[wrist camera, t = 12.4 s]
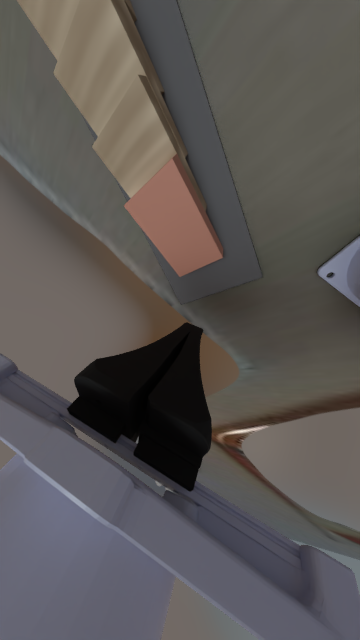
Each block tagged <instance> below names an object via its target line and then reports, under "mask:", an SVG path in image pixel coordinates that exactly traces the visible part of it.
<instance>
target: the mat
mask: <svg viewBox="0 0 360 640" xmlns="http://www.w3.org/2000/svg"><path fill="white" fill-rule="evenodd" d="M130 2H131V4H132V7H133V10H134V12H135V15H136V18H137V20H136V21H135V23H134V24H135V26H136V28H137V31H138V33H139V35H140V37H141V40H142V42H143V44H144V46H145V49H146V51H147V53H148V55H149V58H150V60H151V62H152V64H153V67H154V69H155V71H156V73H157V76H158V78H159V80H160V82H161V85H162V87H163V89H164V91H165V92H164V93H163V94H162V97H163V99H164V102H165V104H166V106H167V108H168V110H169V113H170V115H171V117H172V119H173V121H174V124H175V126H176V128H177V130H178V132H179V135H180V137H181V139H182V141H183V143H184V145H185V148H186V150H187V152H188V154H187V156H186V157H185V159H186V162H187V164H188V166H189V168H190V170H191V172H192V174H193V176H194V178H195V181H196V183H197V185H198V187H199V189H200V191H201V193H202V195H203V198H204V200H205V202H206V204H207V207H206V214H207V216H208V218H209V220H210V222H211V224H212V226H213V228H214V230H215V233H216V235H217V237H218V239H219V241H220V243H221V245H222V247H223V258H221V259H219V260H217V261H214V262H212V263H210V264H208V265H205V266H203V267H201V268H199V269H197V270H194V271H192V272H190V273H188V274H186V275H183V276H181V277H179V275H178V274H177V273H176V272H175V270H174V269H173V268H172V267H171V265H170V264H169V263H168V261H167V260H166V259H165V258H164V256H163V255H162V254H161V253H160V251H159V250H158V249H157V247H156V246H155V245H154V244H153V242H152V241H151V240H150V238H149V237H148V236H147V235H146V233H145V232H144V231H143V230H142V231H143V233H144V235H145V237H146V239H147V241H148V243H149V244H150V246H151V248H152V250H153V252H154V254H155V256H156V258H157V260H158V262H159V264H160V266H161V267H162V269H163V271H164V273H165V275H166V277H167V279H168V281H169V283H170V285H171V287H172V289H173V290H174V292H175V294H176V296H177V298H178V300H179V302H180V304H181V305H182V304H185V303H188V302H191V301H194V300H197V299H200V298H203V297H206V296H209V295H212V294H215V293H217V292H220V291H223V290H226V289H229V288H232V287H235V286H238V285H241V284H244V283H247V282H250V281H253V280H256V279H259V278H262V277H263V276H262V272H261V269H260V266H259V263H258V260H257V256H256V253H255V250H254V247H253V244H252V240H251V237H250V234H249V231H248V228H247V224H246V221H245V218H244V215H243V211H242V208H241V205H240V202H239V199H238V195H237V192H236V189H235V186H234V183H233V179H232V176H231V173H230V170H229V167H228V163H227V160H226V157H225V154H224V151H223V147H222V144H221V141H220V138H219V135H218V131H217V128H216V125H215V122H214V118H213V115H212V112H211V109H210V106H209V102H208V99H207V96H206V93H205V90H204V86H203V83H202V80H201V77H200V74H199V70H198V67H197V64H196V61H195V58H194V54H193V51H192V48H191V45H190V41H189V38H188V35H187V32H186V29H185V25H184V22H183V19H182V16H181V13H180V9H179V6H178V3H177V0H130ZM81 114H82V113H81ZM82 116H83V115H82ZM83 118H84V116H83ZM84 120H85V122H86V124H87V126H88V128H89V129H90V131H91V133H92V135H93V137H94V139H95V141H96V139H97V138H98V136H97V135H96V133H95V132H94V130H93V129H92V128H91V126H90V125H89V123H88V122H87V120H86V119H85V118H84ZM115 179H116V178H115ZM116 181H117V180H116ZM117 183H118V185H119V187H120V189H121V191H122V193H123V195H124V197H125V198H126V200H127V202H128V201H129V200H130V199H131V198H130V197H129V196H128V194H127V193H126V192H125V190H124V189H123V188H122V186H121V185H120V184H119V182H118V181H117ZM141 229H142V228H141Z"/></svg>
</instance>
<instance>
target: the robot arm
mask: <svg viewBox="0 0 360 640" xmlns="http://www.w3.org/2000/svg"><path fill="white" fill-rule="evenodd" d="M330 272H333V275H332V276H330V277H326V276H327V274H328V273H330ZM317 273H318V275H319V276H320V277H321V278H323V279H324V280H325V281H327V282H328V283H329V284H330V285H332V286H333V287H334V288H336V289H337V290H338V291H340V292H341V293H342V294H343V295H345V296H346V297H347V298H349V299H350V300H351V301H352V302H354V303H355V304H356V305H358V306H359V307H360V236H358V237H357V238H356V239H355V240H353V241H352V242H351V243H350V244H348V245H347V246H346V247H345V248H343V249H342V250H341V251H340V252H338V253H337V254H336V255H335V256H333V257H332V258H331V259H330V260H328V261H327V262H326V263H325V264H323V265H322V266H321V267H320V268H319V269H318V271H317ZM202 333H203V329H202V328H199V327H197V326H194V325H192V324H189V323H184V324H183V325H182V326H181V327H179V328H178V329H176V330H175V331H173V332H172V333H170V334H168V335H167V336H165V337H163V338H161V339H160V340H158V341H156V342H154V343H151V344H149V345H147V346H144V347H142V348H139V349H136V350H133V351H130V352H126V353H123V354H119V355H115V356H110V357H105V358H100V359H96V360H95V361H93V362H92V363H91V364H89V365H88V366H87V367H86V368H85V369H84V370H83V371H81V372H80V373H79V374H78V375H77V376H76V377H75V379H74V382H75V386H76V388H77V391H78V393H79V397H78V398H77V399H76V400H75V401H74V402H73V403H71V402H69V401H68V400H66V399H64V398H63V397H61V396H59V395H58V394H56V393H55V392H53V391H51V390H50V389H48V388H47V387H45V386H44V385H42V384H40V383H39V382H37V381H36V380H34V379H32V378H31V377H29V376H28V375H26V374H24V373H23V372H21V371H20V370H18V368H17V366H16V365H15V363H14V362H12V361H11V360H10V359H9V358H7V357H5V356H4V355H2V354H0V440H1V441H3V442H4V443H5V444H6V445H8V446H9V447H10V448H11V449H12V450H14V451H15V452H16V453H17V454H16V455H15V456H14V457H13V458H12V459H11V460H10V461H9V462H8V463H7V464H6V465H5V466H4V467H3V468H2V469H1V470H0V640H161V636H162V632H163V628H164V624H165V620H166V616H167V611H168V607H169V603H170V599H171V594H172V590H173V586H174V582H175V578H176V577H177V578H179V579H180V580H181V581H183V582H184V583H185V584H187V585H188V586H189V587H190V588H192V589H193V590H194V591H196V592H197V593H198V594H200V595H201V596H202V597H204V598H205V599H206V600H208V601H209V602H211V603H212V604H213V605H214V606H216V607H217V608H218V609H220V610H221V611H222V612H224V613H225V614H226V615H227V616H229V617H230V618H231V619H233V620H234V621H235V622H237V623H238V624H240V625H241V626H242V627H243V628H245V629H246V630H247V631H249V632H250V633H251V634H253V635H254V636H255V637H257V638H258V639H259V640H360V595H359V591H358V587H357V583H356V579H355V575H354V573H353V572H352V570H351V569H350V568H348V567H346V566H345V565H343V564H342V563H340V562H338V561H337V560H335V559H333V558H332V557H330V556H328V555H327V554H325V553H324V552H322V551H320V550H318V549H316V548H314V547H312V546H308V545H301V546H299V545H298V544H296V543H295V542H293V541H291V540H290V539H288V538H287V537H285V536H283V535H282V534H280V533H279V532H277V531H275V530H274V529H272V528H271V527H269V526H267V525H266V524H264V523H263V522H261V521H259V520H258V519H256V518H255V517H253V516H251V515H250V514H248V513H247V512H245V511H243V510H242V509H240V508H239V507H237V506H235V505H234V504H232V503H231V502H229V501H227V500H226V499H224V498H223V497H221V496H219V495H218V494H216V493H215V492H213V491H211V490H210V489H208V488H207V487H205V486H203V485H202V484H200V483H199V482H197V481H196V477H197V473H198V469H199V468H200V466H201V462H202V458H203V456H204V455H205V454H206V453H207V452H208V451H209V449H210V446H211V436H212V427H211V417H210V413H209V410H208V407H207V403H206V399H205V395H204V390H203V385H202V380H201V373H200V356H199V355H200V354H199V353H200V339H201V335H202ZM63 419H64V420H63ZM66 421H67V422H68V423H70V424H71V425H73V426H74V427H76V428H77V429H79V430H80V431H82V432H83V433H85V434H86V435H88V436H89V437H91V438H92V439H94V440H96V441H97V442H98V443H100V444H101V445H103V446H105V447H106V448H107V449H109V450H110V451H112V452H114V453H115V454H117V455H118V456H120V457H121V458H123V459H124V460H126V461H127V462H129V463H130V464H132V465H133V466H135V467H136V468H138V469H139V470H141V471H142V472H144V473H145V474H147V475H148V476H150V477H151V478H153V479H154V480H156V481H157V482H159V483H160V484H162V485H163V486H165V487H166V488H168V489H169V490H171V491H172V492H171V491H169V490H166V491H165V494H164V496H163V497H161V496H160V495H159V494H157V493H156V492H155V491H153V490H152V489H151V488H149V487H148V486H147V485H146V484H144V483H143V482H142V481H140V480H139V479H138V478H136V477H135V476H134V475H133V474H131V473H130V472H129V471H127V470H126V469H124V468H123V467H122V466H120V465H119V464H118V463H116V462H115V461H113V460H112V459H110V458H109V457H107V456H106V455H104V454H103V453H102V452H100V451H99V450H97V449H96V448H94V447H93V446H91V445H89V444H88V443H86V442H85V441H83V440H81V439H80V438H78V436H77V435H76V433H75V430H74V428H73V427H71V425H69V424H68V423H67V422H66ZM138 436H139V441H138V444H136V443H135V442H136V440H137V438H138ZM173 492H174V493H173Z"/></svg>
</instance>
